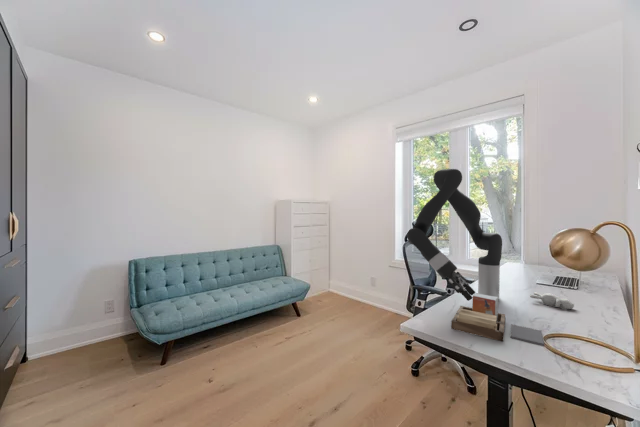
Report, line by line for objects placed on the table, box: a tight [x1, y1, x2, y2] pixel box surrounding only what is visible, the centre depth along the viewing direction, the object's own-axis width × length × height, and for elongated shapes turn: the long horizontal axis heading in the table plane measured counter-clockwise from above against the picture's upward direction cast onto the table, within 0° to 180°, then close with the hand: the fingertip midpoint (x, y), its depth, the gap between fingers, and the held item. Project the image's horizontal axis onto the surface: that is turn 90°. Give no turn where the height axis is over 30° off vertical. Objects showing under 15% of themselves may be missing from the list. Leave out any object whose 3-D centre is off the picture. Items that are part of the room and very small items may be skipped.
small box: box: [471, 292, 499, 322], centre depth 106 cm, size 8×6×10 cm
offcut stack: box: [457, 309, 497, 330], centre depth 99 cm, size 6×12×6 cm, turn 54°
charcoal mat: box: [510, 323, 545, 346], centre depth 95 cm, size 12×9×1 cm
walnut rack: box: [450, 305, 506, 342], centre depth 103 cm, size 20×16×3 cm
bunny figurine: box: [529, 291, 575, 311], centre depth 125 cm, size 10×5×15 cm
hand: (472, 296), depth 108 cm, fingers open, 8 cm apart
